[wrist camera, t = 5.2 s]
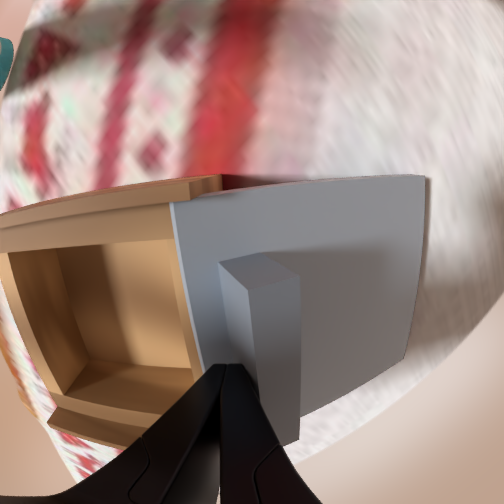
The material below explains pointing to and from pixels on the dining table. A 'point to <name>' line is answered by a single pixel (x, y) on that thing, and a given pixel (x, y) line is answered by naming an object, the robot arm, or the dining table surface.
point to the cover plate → (303, 284)
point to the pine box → (104, 304)
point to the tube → (5, 59)
